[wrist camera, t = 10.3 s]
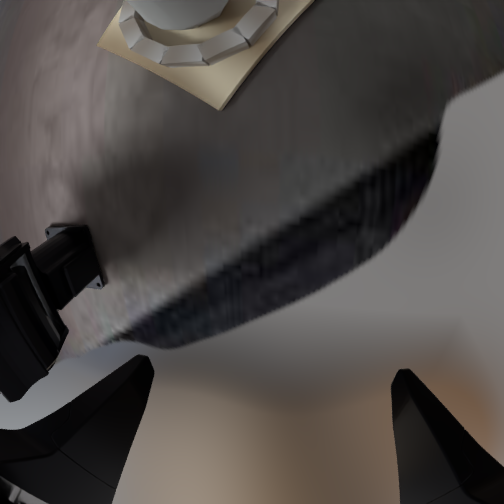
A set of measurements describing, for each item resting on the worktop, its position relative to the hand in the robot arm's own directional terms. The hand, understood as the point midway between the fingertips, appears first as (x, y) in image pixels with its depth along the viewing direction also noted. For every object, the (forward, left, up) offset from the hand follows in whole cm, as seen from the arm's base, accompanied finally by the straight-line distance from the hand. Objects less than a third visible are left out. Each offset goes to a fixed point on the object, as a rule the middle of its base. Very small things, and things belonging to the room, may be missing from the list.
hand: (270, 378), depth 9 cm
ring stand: (-5, +17, -12) cm, 22 cm away
